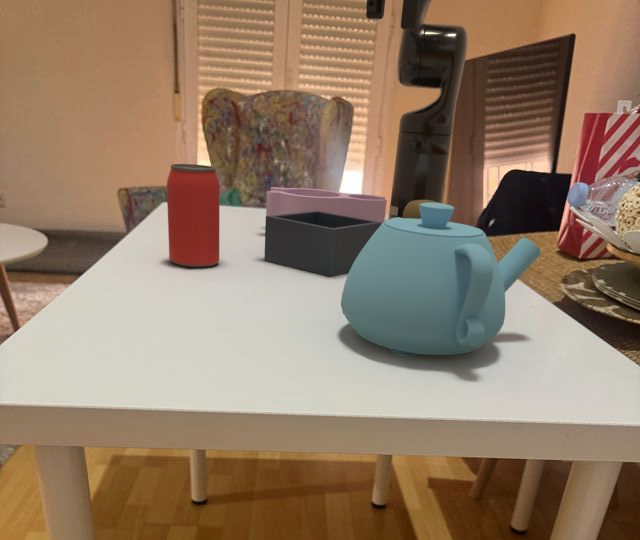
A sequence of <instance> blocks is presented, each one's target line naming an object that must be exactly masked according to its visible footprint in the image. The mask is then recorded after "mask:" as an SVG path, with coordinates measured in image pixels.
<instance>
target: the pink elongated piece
mask: <svg viewBox="0 0 640 540" xmlns="http://www.w3.org/2000/svg"><path fill="white" fill-rule="evenodd" d="M387 202H388V201H387V199H386V197H385V196H380V195H374V194H363V193H348V192H347V193H346V192H340V191H333V190H327V189H319V188H305V187H277V186H276V187H275V186H270V190H268V191H266V202H265V203H266V204H265V217H266V216H272V215H281V214H290V213H300V212H309V211H321V212H327V213H332V214H338V215H343V216H349V217H354V218H360V219H365V220H371V221H376V222H381V223H384V222H385V221H386V220H385V219H386V210H387V204H388V203H387Z"/></svg>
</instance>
